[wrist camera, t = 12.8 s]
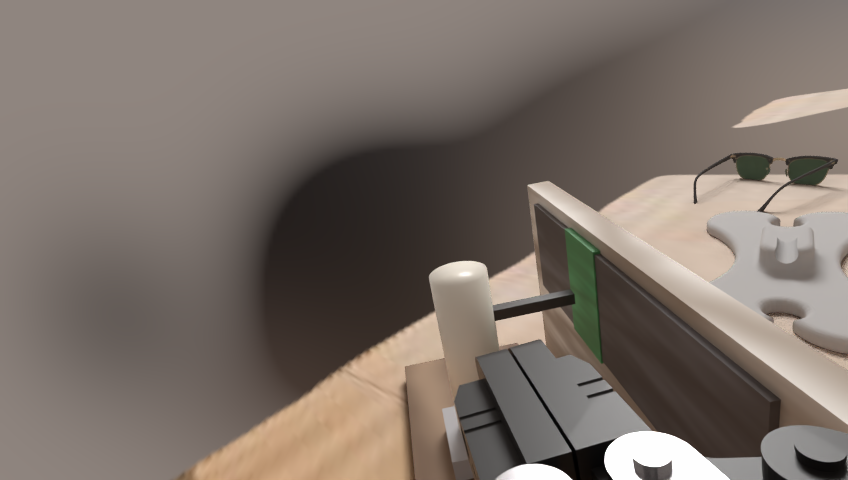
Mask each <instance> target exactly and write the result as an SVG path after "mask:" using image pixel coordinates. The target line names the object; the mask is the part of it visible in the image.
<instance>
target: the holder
mask: <svg viewBox="0 0 848 480" xmlns="http://www.w3.org/2000/svg"><path fill="white" fill-rule="evenodd" d="M793 226H794V227H781V226H780V219H779V218H777V217H776V216H774V215H771V214H768V213H763V212H756V211H733V212H726V213H721V214H718V215H715V216H713V217H712V218H710V219H709V220H708V222H707V231H708V233H709V234H710V235H712V236H714V237H716V238H717V239H719V240H721V241H722V242H724V243H725V244H726V245H727V246H729V247H730V249H731V250H732V251H733V253H734V255H735V258H736V259H735V262H734V264H733V266H732V267H731V268H730V269H729V270H728V271H727V272H726V273H724V274H723V275H722V276H720V277H718V278H717V279H715V280H713V281H711V282H709V283H710V284H712V285H714V286H715V287H717V288H718V289H720V290H722V291H723V292H725V293H726V294H728V295H729V296H731V297H733V298H734V299H736V300H737V301H739V302H741V303H742V304H744V305H745V306H747V307H748V308H750V309H752V310H753V311H755V312H756V313H758V314H760V315H761V316H763V317H764V318H766V319H767V320H769V321H771V322H772V323H774V320H773V318H772V317H770V316H768V315H766V314H768V313H774V312H782V313H789V314H793V315H796V316H798V317H800V318H802V319H798V320H795V321H794V322H793V331H794V332H795V333H796V334H797V335H798V336H799V337H801V338H802V339H804V340H806V341H808V342H810V343H812V344H814V345H816V346H819V347H822V348H824V349H828V350H831V351H835V352H839V353H844V354H848V278H847V277H846V275H845V274H844V272H843V271H842V268H841V262H842V260H843V258H844V257H845V256H846V255H847V254H848V213H845V212H818V213H811V214H806V215H803V216H800V217H798V218H796V219H795V220H794V225H793Z"/></svg>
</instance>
